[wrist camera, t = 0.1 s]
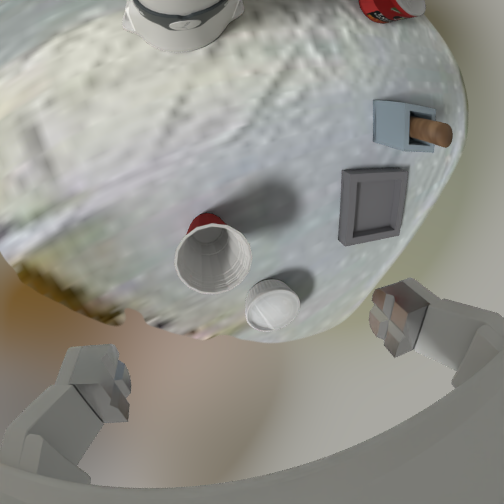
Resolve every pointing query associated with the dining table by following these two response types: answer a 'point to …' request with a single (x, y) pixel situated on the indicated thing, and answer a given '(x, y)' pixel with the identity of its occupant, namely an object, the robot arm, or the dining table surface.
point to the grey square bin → (399, 125)
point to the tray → (371, 204)
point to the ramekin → (271, 305)
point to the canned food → (392, 9)
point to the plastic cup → (212, 256)
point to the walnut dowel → (430, 131)
